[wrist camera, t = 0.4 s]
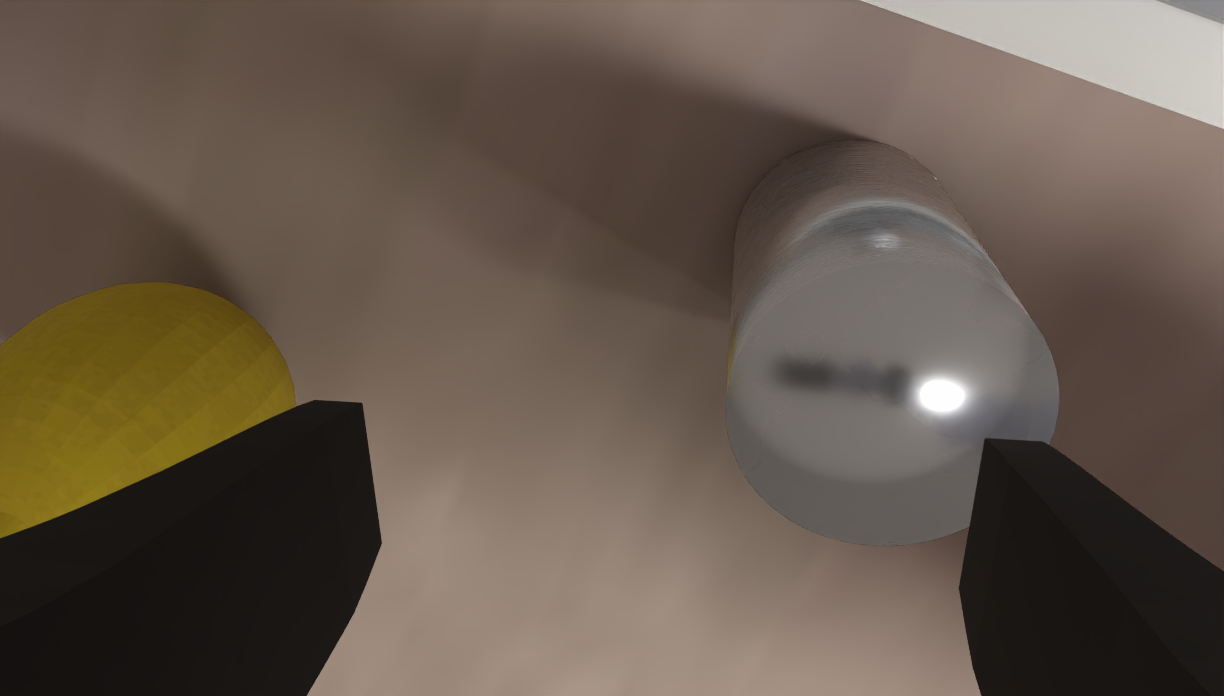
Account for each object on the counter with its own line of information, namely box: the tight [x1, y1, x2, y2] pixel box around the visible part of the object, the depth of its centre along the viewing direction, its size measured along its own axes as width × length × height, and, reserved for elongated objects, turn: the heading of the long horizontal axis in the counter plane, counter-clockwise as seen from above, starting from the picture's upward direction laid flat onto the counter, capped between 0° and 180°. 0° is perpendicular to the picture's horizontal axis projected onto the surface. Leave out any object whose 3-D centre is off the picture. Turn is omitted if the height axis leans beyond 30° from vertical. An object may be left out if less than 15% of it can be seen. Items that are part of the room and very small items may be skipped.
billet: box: [725, 140, 1059, 546], centre depth 16 cm, size 4×4×7 cm
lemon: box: [0, 282, 296, 538], centre depth 19 cm, size 6×6×8 cm
